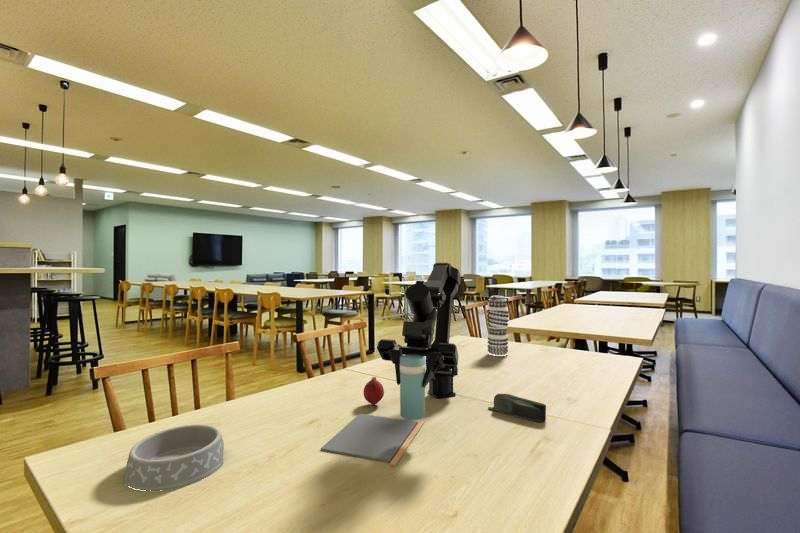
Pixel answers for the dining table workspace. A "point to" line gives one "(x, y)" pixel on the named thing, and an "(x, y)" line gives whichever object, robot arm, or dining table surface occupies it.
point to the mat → (371, 437)
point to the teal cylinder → (412, 386)
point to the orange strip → (406, 444)
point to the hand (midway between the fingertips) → (410, 385)
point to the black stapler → (519, 407)
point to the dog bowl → (175, 458)
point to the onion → (373, 391)
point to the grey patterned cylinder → (497, 325)
